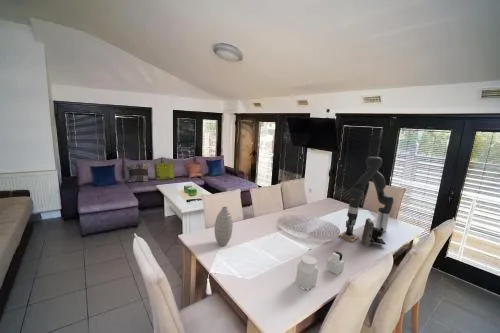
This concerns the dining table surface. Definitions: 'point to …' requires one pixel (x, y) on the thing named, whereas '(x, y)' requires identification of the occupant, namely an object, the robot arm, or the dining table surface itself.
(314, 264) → the jar
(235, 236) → the dining table surface
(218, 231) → the vase
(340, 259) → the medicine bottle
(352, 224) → the lens
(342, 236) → the mount
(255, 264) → the dining table surface
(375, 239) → the vintage camera
